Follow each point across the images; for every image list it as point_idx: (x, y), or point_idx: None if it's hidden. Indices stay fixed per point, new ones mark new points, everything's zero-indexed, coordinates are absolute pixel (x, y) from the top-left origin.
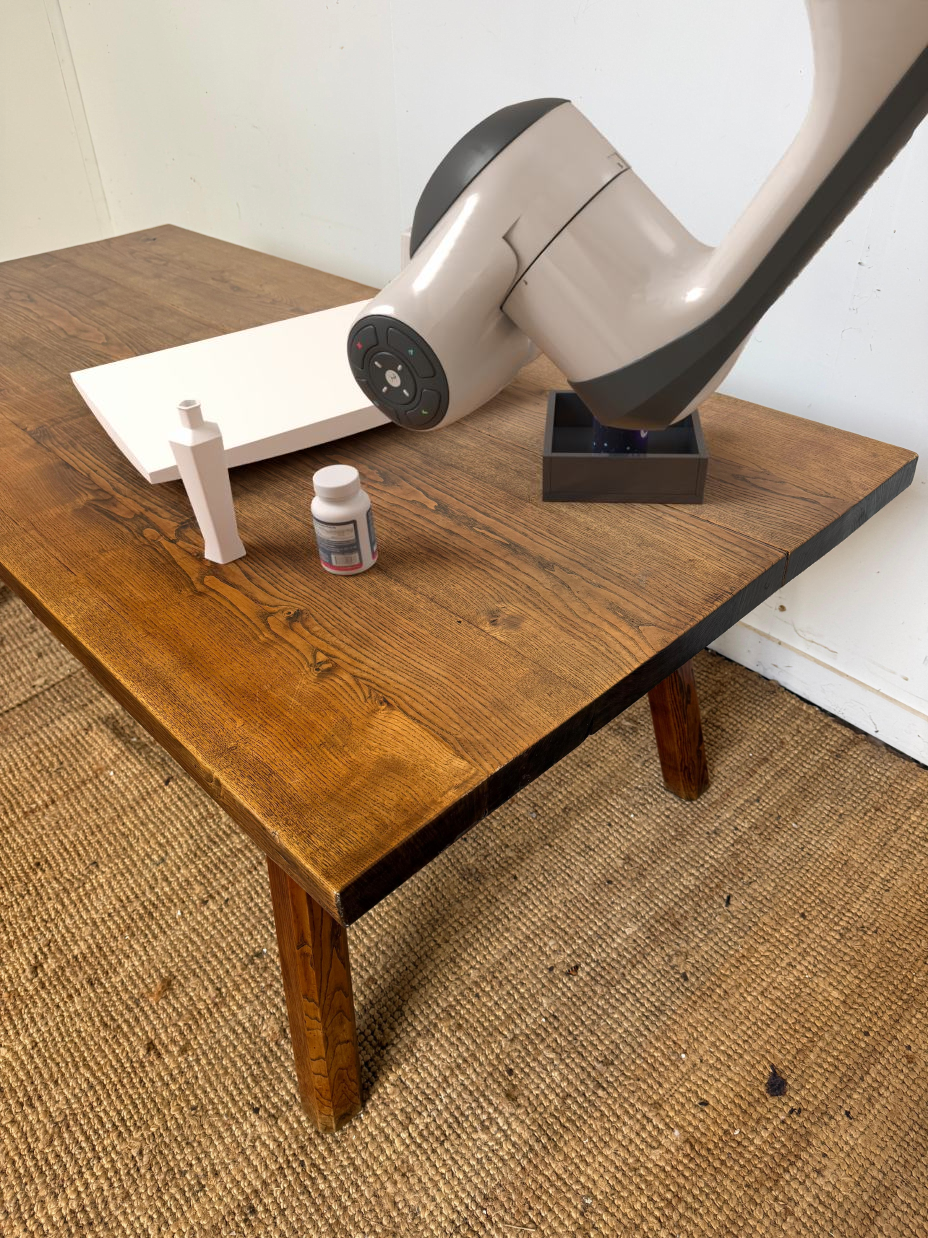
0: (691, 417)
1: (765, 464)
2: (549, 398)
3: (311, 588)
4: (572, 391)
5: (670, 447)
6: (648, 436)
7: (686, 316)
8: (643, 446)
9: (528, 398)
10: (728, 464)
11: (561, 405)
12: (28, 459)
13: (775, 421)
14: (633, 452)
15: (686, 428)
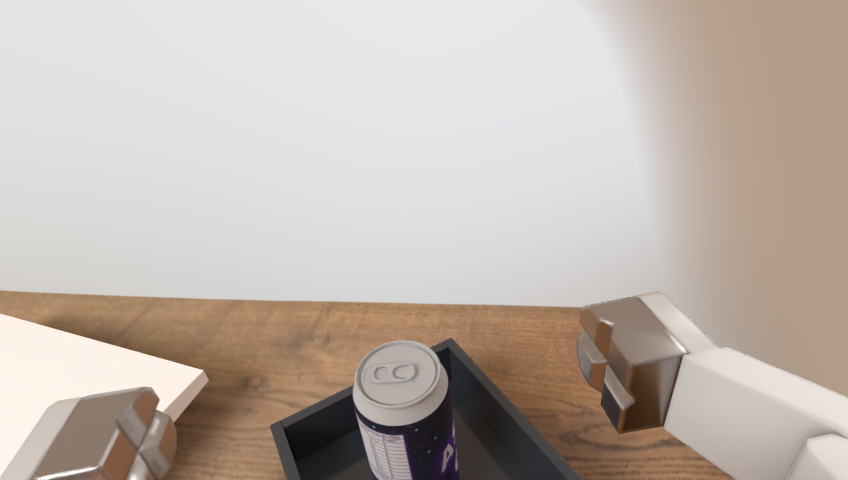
0: (490, 394)
1: (572, 395)
2: (279, 448)
3: None
4: (306, 413)
5: (466, 429)
6: None
7: None
8: (458, 475)
9: (232, 403)
10: (539, 417)
11: (297, 436)
12: None
13: (519, 317)
14: None
15: (470, 392)
